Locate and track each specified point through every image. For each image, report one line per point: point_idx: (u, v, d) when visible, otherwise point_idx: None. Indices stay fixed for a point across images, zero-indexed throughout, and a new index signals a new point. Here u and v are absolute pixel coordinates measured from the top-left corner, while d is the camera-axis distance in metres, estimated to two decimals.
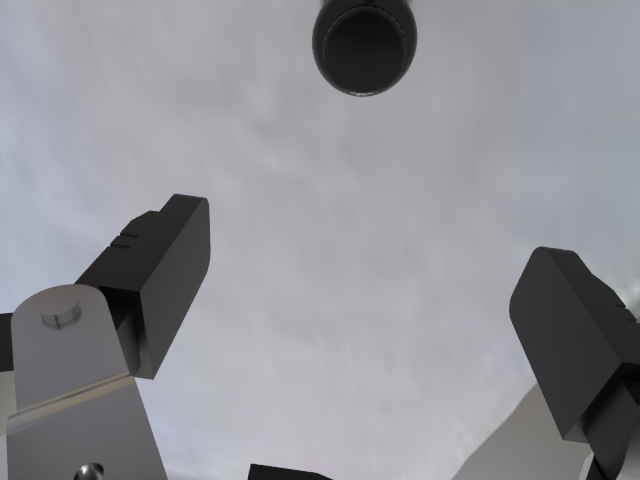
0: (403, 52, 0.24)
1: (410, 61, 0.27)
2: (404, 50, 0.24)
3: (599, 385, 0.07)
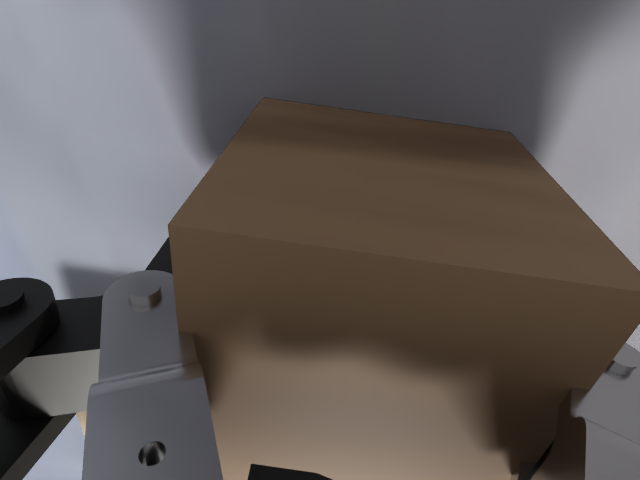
0: None
1: None
2: None
3: None
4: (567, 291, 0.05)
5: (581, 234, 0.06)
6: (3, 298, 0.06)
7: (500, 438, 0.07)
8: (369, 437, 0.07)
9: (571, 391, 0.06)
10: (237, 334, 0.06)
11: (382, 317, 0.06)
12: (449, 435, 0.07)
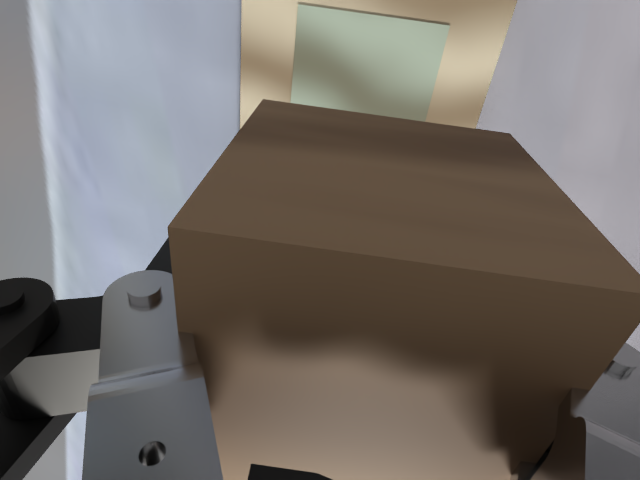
0: None
1: None
2: None
3: None
4: (566, 293, 0.05)
5: (580, 236, 0.06)
6: (4, 298, 0.06)
7: (499, 439, 0.07)
8: (368, 437, 0.07)
9: (571, 391, 0.06)
10: (236, 336, 0.06)
11: (381, 319, 0.06)
12: (449, 436, 0.07)
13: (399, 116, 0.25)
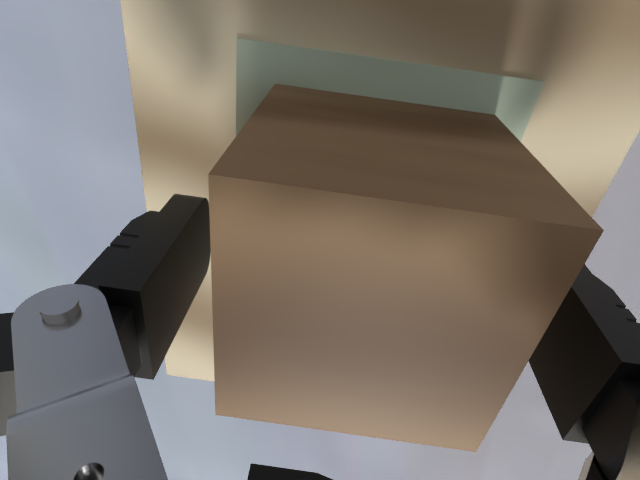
0: None
1: None
2: None
3: (599, 385, 0.07)
4: (529, 229, 0.06)
5: (545, 189, 0.07)
6: None
7: (480, 366, 0.08)
8: (369, 367, 0.08)
9: None
10: (260, 271, 0.07)
11: (380, 254, 0.07)
12: (437, 364, 0.08)
13: None
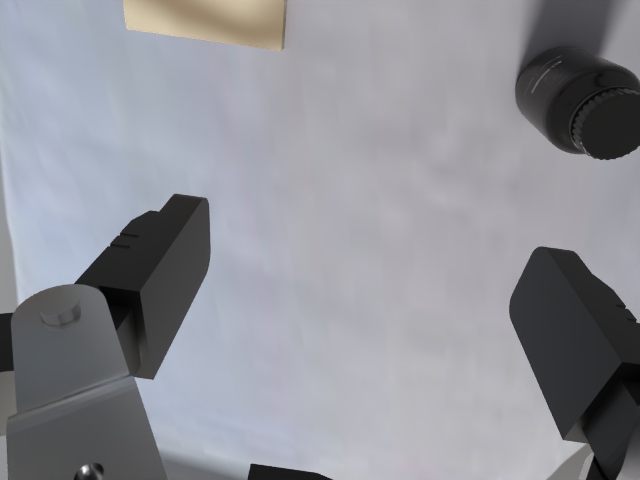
0: None
1: None
2: None
3: (599, 385, 0.07)
4: None
5: None
6: None
7: None
8: None
9: None
10: None
11: None
12: None
13: None
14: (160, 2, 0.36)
